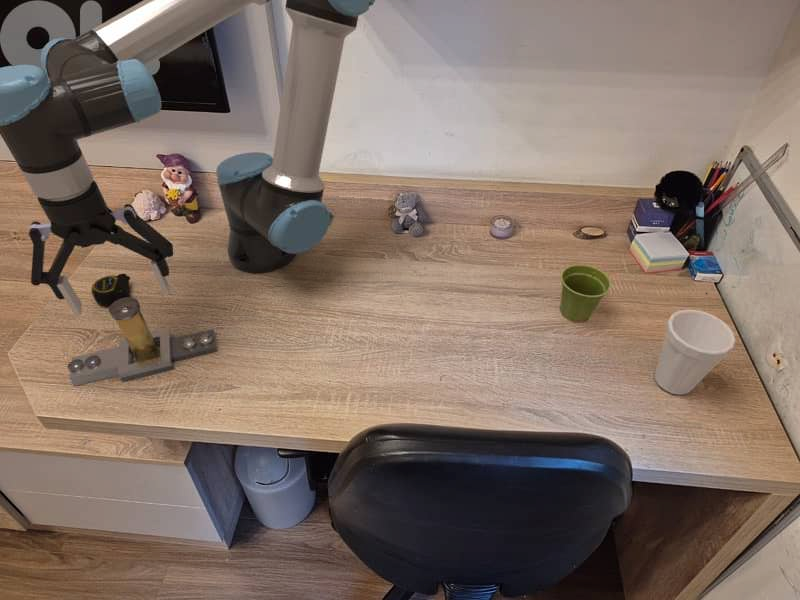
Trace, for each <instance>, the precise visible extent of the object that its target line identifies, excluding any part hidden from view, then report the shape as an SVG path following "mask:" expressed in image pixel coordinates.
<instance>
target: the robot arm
mask: <svg viewBox="0 0 800 600" xmlns="http://www.w3.org/2000/svg"><path fill="white" fill-rule="evenodd" d="M270 1H271V0H142V1H140V2H138V3H137V4H135V5H133V6H131V7H129V8H127V9H126V10H124V11H122V12H120V13H118V14H117V15H115V16H114V17H112V18H110V19H108V20H107V21H105V22H103V23H101V24H100V25H98V26H96V27H94V28H92V29H90V30H89V31H86V32H84V33H82V34H80V35H78V36H77V37H75V38H67V37H66V38H65V37H61V38H60V37H59V38H54V39H52V40H50V41H49V42H47V43H46V44H45V45H44V47H43V48H42V51H41V53H40V66H41V67H39V66H36V65H32V64H17V65H8V66H3V67H0V137H1V138H2V140H3V142H4V143H5V145H6V146H7V148H8V150H9V152H10V153H11V155H12V157H13V159H14V160H15V162H16V163H17V166H18V167H19V169H20V171H21V173H22V175H23V177H24V178H25V180H26V182H27V185H29V187H30V189H31V190H32V193H33V194H34V196H36V197H37V201H38V203H39V205H40V206H41V209H42V210H43V212H44V214H45V216H46V217H47V219H48V221H49V222H50V223H44V224H42V223H41V222H39V221H36V220H35V221H32V222H31V223H30V227H29V231H28V236H29V238H30V240H31V242H32V244H33V245H32V260H31V262H32V263H31V277H30V278H31V279H30V283H31V285H33V286H36V287H37V286H40V285H43V284H44V285H47V286H49V287H50V289H51V290H52V291H53V293H54V295H55V297H56V298H57V299H58V300H65V301H66V303H67V304H68V306H69V307H70V309H71V310H72V312H73V314H74V316H75V317H79V316H81V315H82V308H83V303H82V301H81V300H80V298H79V297H78V295H77V292H76V291H75V289H74V288H73V286H72V285H71V283H70V281H69V280H68V278H67V276H66V274H64V273H63V272H62V271H63V270H64V268H65V265H66V263H67V262H68V259H69V257H70V256H71V254H72V253H73V252H74V251H73V250H74V249H75V248H76V247H81V248H82V249H84V248H88V247H91V246H94V245H97V246H99V245H103V244H105V242H109V243H111V244H113V245H116V246H117V245H119V246H121V247H123V248H126V249H128V250H130V251H131V252H134V253H136V254H138V255H140V256H142V257H144V258H147V259H148V260H150V264H151V265H150V266H151V268H152V270H153V272H154V274H155V278H156V280H157V281H158V283H159V287H160V288H161V291H162V293H163V296H164V297H165V296H169V295H170V285H169V282H168V279H167V278H166V277H167V276H170V267H169V265H168V262H167V261H166V259H167V258H171V257H173V256H174V248H173V247H174V246H173V243H172V242H170V241H169V240H168V239H167V238H166V237H165V236H164V235H162V234H161V233H160V232H159V231H157V230H156V229H155V228H154V227H153V226H151V225H150V224H149V223H148V222H147V221H146V220H144V219H143V218H142V217H141V216H140V215H138V213H137V211H136V210H135V208H134V207H133V205H132V204H130V203H126V204H124V205H123V208H120V209H117V210H114V211H113V210H112V209H110V208H109V207H108V204H107V203H106V200H105V199H104V196H103V194H102V192H101V190H100V188H99V186H98V183H97V182H96V181H95V180H94V175H93V173H92V171H91V168H90V166H89V164H88V163H87V160H86V158H85V155H84V154H83V151H82V149H81V147H80V146H79V142H78V140H80V139H84V138H87V137H91V136H94V135H97V134H101V133H104V132H107V131H111V130H114V129H117V128H120V127H124V126H127V125H130V124H134V123H141V121H143V120H146V119H148V118H151V117H153V116H155V115H159V113H160V112H161V109H162V99H161V95H160V92H159V91H160V90H159V88H158V86H157V83H156V81H155V79H154V76H153V75H152V73H151V72H150V71H149V69H148V66H149V65H151V64H153V63H154V62H156V61H157V60H159V59H161V58H162V57H165V56H166V55H168V54H170V53H171V52H173V51H174V50H176V49H178V48H179V47H181V46H183V45H184V44H186V43H188V42H190V41H191V40H193V39H195V38H196V37H198V36H199V35H201V34H203V33H204V32H206V31H208V30H210V29H211V28H212V27H214V26H216V25H218V24H219V23H221V22H223V21H225V20H227V19H228V18H230V17H231V16H233V15H235V14H236V13H238V12H239V11H241V10H243V9H245V8H246V7H248V6H249V5H251V4H252V3H253V4H256V5H259V6H263V5H265V4H266V3H268V2H270ZM375 2H376V0H286V2H285V8H284V9H285V12H287V15H288V16H289V18H290V20H291V22H292V28H291V35H290V42H289V47H288V49H289V50H288V56H287V61H286V62H287V63H286V67H285V68H286V69H285V75H284V81H283V87H282V95H281V102H280V108H279V109H280V110H279V115H278V121H277V128H276V134H275V144H274V148H273V155H270V154H268V153H266V152H260V151H259V152H257V151H253V152H251V151H250V152H244V153H239V154H235V155H233V156H232V155H231V156H230V157H228V158H227V157H226V159H224V160H223V161H221V162H220V163H219V165H218V166H217V167H216V171H215V172H216V180H217V185H218V188H219V192H220V195H221V199H222V203H223V207H224V210H225V213H226V214H225V215H226V217H227V222H228V225H229V234H228V243H227V253H228V258H229V262H230V263H231V264H232V266H234V268H236V269H238V270H240V271H241V272H244V273H245V272H246V273H251V274H263V273H264V274H265V273H269V272H274V271H277V270H278V269H281V268H283V267H285V266H286V265H288V264H289V263H290V262H291V261H293V260H294V258H295V257H296V254H302V253H304V252H307V251H309V250H311V249H312V248H314V247H315V246H316V245H317V244H319V243H320V242H321V241H322V240H323V239H324V237H325V236H326V234H327V232H328V231H329V230H328V229H329V227H330V224H331V214H330V211H329V210H328V207H327V206H326V205H325V204H324V203H323V202H322V201H323V196H324V190H325V183H324V181H323V180H322V178H321V176H319V175H320V169H321V165H322V164H321V163H322V158H323V153H324V148H325V142H326V137H327V133H328V127H329V121H330V115H331V111H332V106H333V101H334V95H335V90H336V84H337V79H338V75H339V74H338V73H339V69H340V65H341V60H342V54H343V48H344V44H345V43H344V42H345V40H346V38H347V36H349V35H350V34H352V33H353V32H354V31H355V30H357V26H358V20H359V17H360V16H361V15H363V14H366V13H367V12H368V11H369V10H370V7H371V6H373V5H374V4H375ZM116 221H120V222H122V223H123V224H124V225H128V226H129V227H130V228H131V229H132V230H133V231H134V232H136V233H137V234H138V235H139V236H140V237H142V238H140V237H138V236H136V235H134V234H132V233H131V232H128V231H126V230H124V229H123V228H122V226H120V225H118V224H116ZM50 234H53V235H54V236H56V237H59V238H60V239H62V243H61V245H60V247H59V249H58V251H57V253H56V255H55V257H54V259H53V262H52V263H51V265H50V268H48V271H44V261H45V248H46V240H48V239H49V238H50ZM75 246H76V247H75Z"/></svg>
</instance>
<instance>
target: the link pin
mask: <svg viewBox="0 0 800 600" xmlns="http://www.w3.org/2000/svg"><path fill="white" fill-rule="evenodd" d="M108 313H109V314H110V316H111V318H112V319H113V320H115V322H116V324H117V326H118V327H119V329H120V331H121V333H122V335H123V337H124V339H126V341H127V343H128V345H129V347H130V349H131V351H132V353H133V357H134V359H135V360H136V363H138V362H142V361H146V360H151V359H155V358H159V357H161V355H160V349H159V348H158V346H156V344H155V341H154V339H153V337H152V335H151V330H150V328H149V326H148V324H147V322H146V319H145V317H144V316H143V313H142V311H141V305H140V302H139V300H138V299H137V298H135V297H133V296H132V297H131V296H129V297H125V298H121V299H119V300H117V301H115V302H114V303H112V304H111V305H110V306H109V307H108Z"/></svg>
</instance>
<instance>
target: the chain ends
mask: <svg viewBox="0 0 800 600" xmlns="http://www.w3.org/2000/svg"><path fill="white" fill-rule="evenodd" d="M150 333H151V335H152V337H153V339H154V341H155V344H156V346H157V347H160V348H159V352H160V355H161V356H160V357H159V358H155V359H151V360H146V361H142V362H135V363H133V358H134V355H133V353H132V351H131V349H130V347H129V345H128V343H127V341H126V339H125V338H122V339H119V344H118V346H115V347H112V348H107V349H103V350H98V351H94V352H90V353H85V354H82V355H77V356H72V357H71V361H70V362H69V363H68V364H67V368H68V370H69V371H70V372H69V380H70V381H71V383H72V385H73V386H74V387H77V386H78V387H79V386H80V385H85V384H90V383H93V382H98V381H102V380H106V379H110V378H114V377H119V378H120V380H121V382H122V383H124V382H128V381H133V380H136V379H140V378H145V377H148V376H153V375H157V374H161V373H165V372H168V371H172V370H175V366H174V365H175V364H174V363H175V362H180V361H183V360H189V359H192V358H196V357H200V356H204V355H208V354H212V353H216V352H218V344H217V338H216V332H215V329H207V330H204V331H200V332H195V333H190V334H187V335H184V336H179V337H174V338H173V336H172V335H173V334H172V333H171V331H170V329H169V328H164V329H161V330H157V331H156V330H155V331H152V332H151V331H150Z"/></svg>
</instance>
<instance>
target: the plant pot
mask: <svg viewBox="0 0 800 600" xmlns="http://www.w3.org/2000/svg"><path fill="white" fill-rule="evenodd" d="M560 280H561V281H560V282H561V286H562V287H561V295H560V296H561V297H560V305H559V310H560V313H561V315H562V316H563V318H565V319H566V320H568V321H570V322H574V323H579V322H583V323H584V322H587V321H589V320H590V319H591V317H592V315H593V313H594V312H595V310H596V309H597V308H598V307H597V306H598V304H599V303H600V301H601V300H602V298H604V297H605V296H606V295H607V294H608V293H609V292H610V291H611V288H612V281H611V278H610V277H609V276H608V275H607V273H606V272H604V271H603V270H602V269H599V268H598V267H596V266H592V265H589V264H579V263H578V264H573V265H569V266H566V267H565V268H564V269H563V270H562V271H561V273H560Z"/></svg>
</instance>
